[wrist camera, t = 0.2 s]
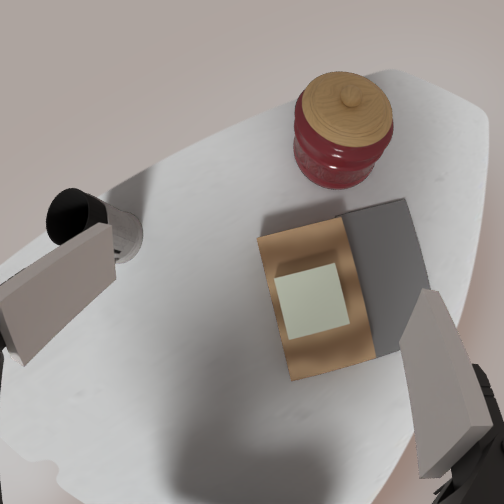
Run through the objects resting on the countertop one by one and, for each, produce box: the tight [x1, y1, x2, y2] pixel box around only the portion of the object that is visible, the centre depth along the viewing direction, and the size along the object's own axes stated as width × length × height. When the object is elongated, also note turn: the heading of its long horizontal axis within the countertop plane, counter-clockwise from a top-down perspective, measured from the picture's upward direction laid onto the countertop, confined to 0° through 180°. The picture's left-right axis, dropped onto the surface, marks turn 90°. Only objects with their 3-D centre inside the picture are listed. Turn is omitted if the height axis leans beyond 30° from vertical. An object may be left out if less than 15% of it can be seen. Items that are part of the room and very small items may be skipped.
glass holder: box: [46, 188, 143, 264], centre depth 42 cm, size 9×14×15 cm, turn 12°
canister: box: [293, 72, 394, 190], centre depth 40 cm, size 13×13×18 cm
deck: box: [257, 217, 376, 381], centre depth 44 cm, size 20×12×4 cm, turn 13°
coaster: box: [274, 263, 350, 340], centre depth 41 cm, size 8×8×2 cm
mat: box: [335, 199, 431, 360], centre depth 45 cm, size 22×12×1 cm, turn 13°
